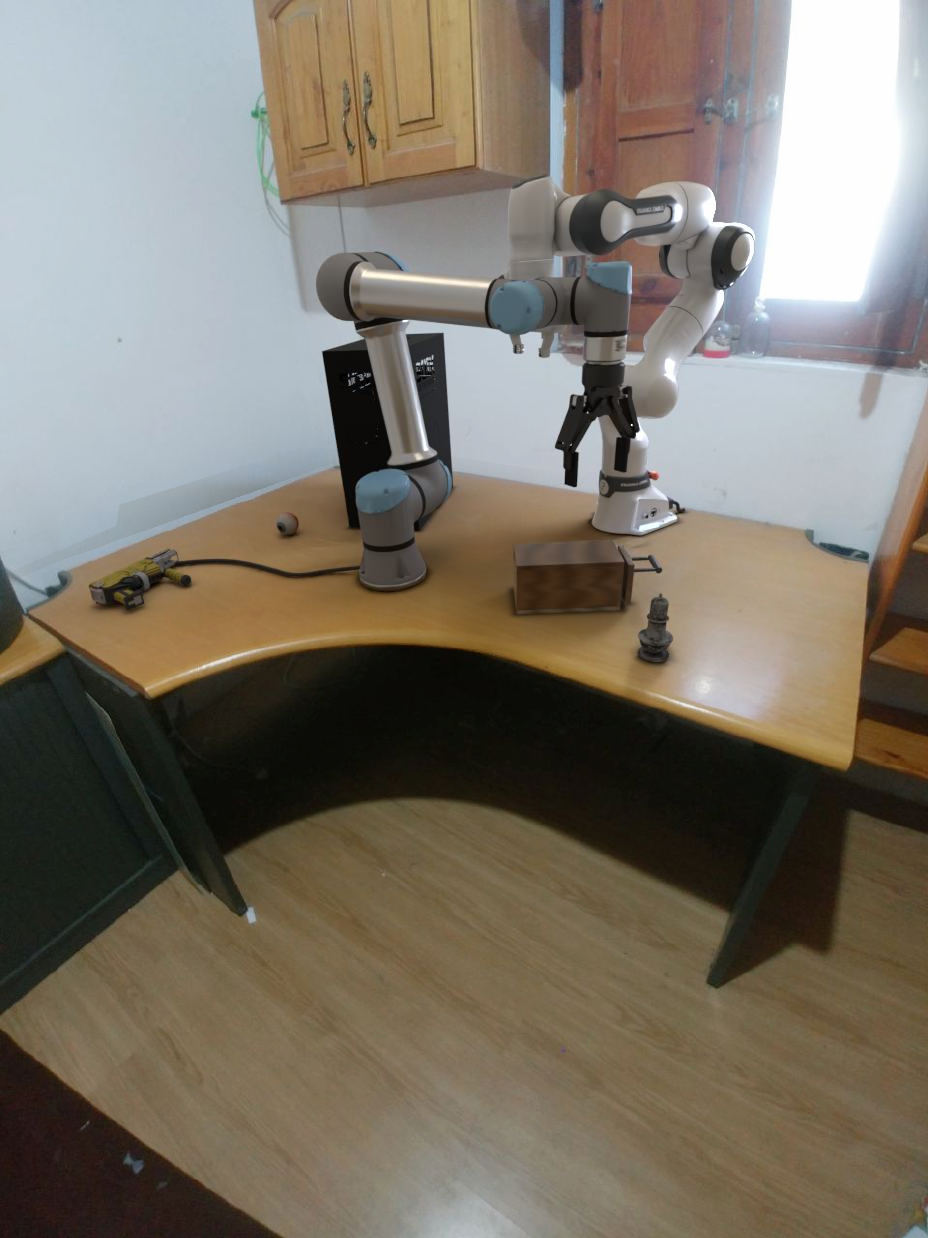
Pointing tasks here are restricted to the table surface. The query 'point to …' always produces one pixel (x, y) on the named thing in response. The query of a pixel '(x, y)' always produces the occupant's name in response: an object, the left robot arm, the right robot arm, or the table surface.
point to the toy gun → (136, 580)
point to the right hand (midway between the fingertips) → (530, 355)
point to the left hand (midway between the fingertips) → (596, 478)
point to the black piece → (362, 414)
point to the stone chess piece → (656, 632)
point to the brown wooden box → (567, 577)
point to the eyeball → (287, 523)
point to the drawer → (630, 570)
